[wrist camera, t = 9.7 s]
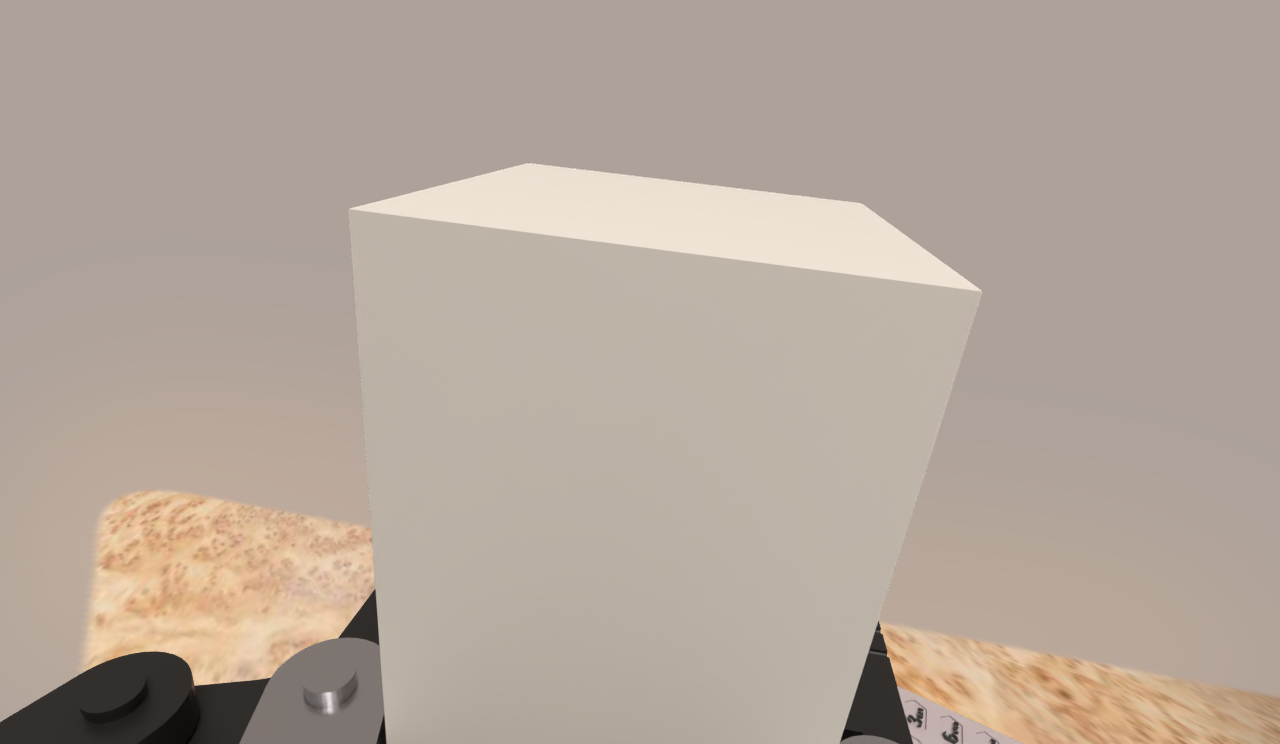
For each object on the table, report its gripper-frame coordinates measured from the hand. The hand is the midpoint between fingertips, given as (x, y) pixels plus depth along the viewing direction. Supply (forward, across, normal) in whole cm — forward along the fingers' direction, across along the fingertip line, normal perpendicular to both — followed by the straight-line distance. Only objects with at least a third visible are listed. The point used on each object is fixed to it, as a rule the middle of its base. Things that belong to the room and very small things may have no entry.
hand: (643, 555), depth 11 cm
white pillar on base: (-3, 0, +7) cm, 8 cm away
